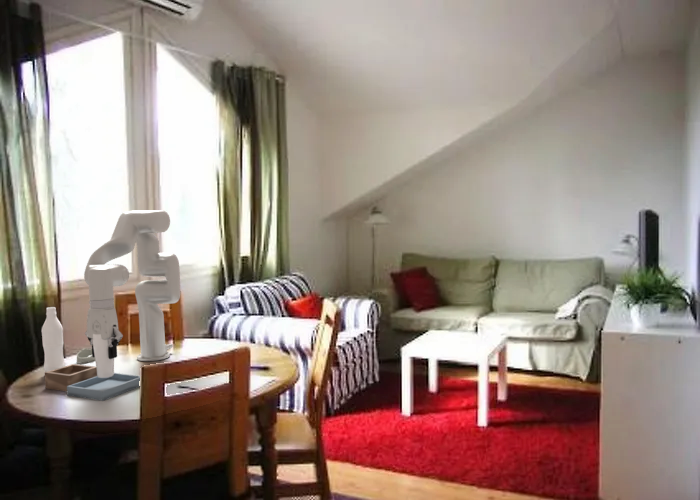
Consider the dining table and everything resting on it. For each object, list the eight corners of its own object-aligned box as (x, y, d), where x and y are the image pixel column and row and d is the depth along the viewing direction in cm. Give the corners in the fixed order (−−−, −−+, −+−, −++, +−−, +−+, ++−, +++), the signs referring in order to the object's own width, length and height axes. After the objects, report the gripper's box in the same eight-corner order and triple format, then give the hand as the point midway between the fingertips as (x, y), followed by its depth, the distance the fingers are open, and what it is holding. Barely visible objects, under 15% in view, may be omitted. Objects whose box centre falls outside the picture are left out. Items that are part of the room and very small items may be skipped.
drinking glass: (98, 374, 210) (96, 330, 209) (119, 373, 210) (116, 329, 209) (92, 379, 203) (89, 334, 202) (113, 378, 204) (110, 334, 203)
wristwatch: (91, 357, 254) (90, 345, 253) (102, 358, 251) (101, 346, 251) (72, 363, 246) (72, 350, 245) (84, 364, 243) (83, 352, 243)
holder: (74, 378, 222) (73, 363, 221) (98, 382, 217) (97, 366, 216) (45, 388, 211) (44, 372, 211) (70, 391, 206) (69, 375, 206)
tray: (109, 380, 219) (109, 372, 219) (144, 384, 212) (143, 376, 212) (67, 395, 202) (66, 386, 202) (103, 400, 196) (103, 391, 196)
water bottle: (70, 372, 231) (66, 306, 229) (55, 377, 224) (50, 309, 222) (55, 371, 233) (50, 305, 231) (39, 376, 226) (35, 309, 225)
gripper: (73, 304, 205) (76, 357, 207) (112, 307, 198) (115, 362, 199) (91, 301, 212) (94, 352, 213) (130, 303, 205) (132, 356, 206)
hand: (104, 356), depth 206 cm, fingers closed on drinking glass, 6 cm apart
